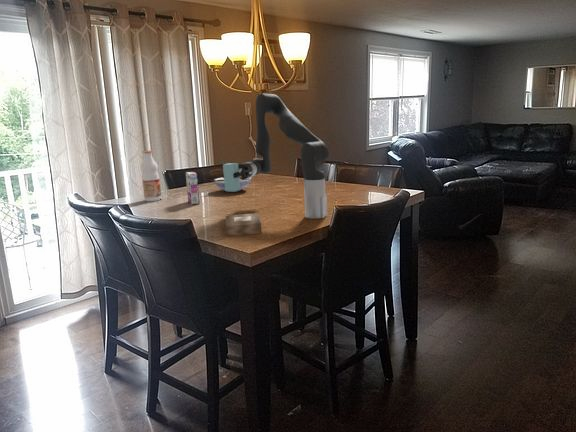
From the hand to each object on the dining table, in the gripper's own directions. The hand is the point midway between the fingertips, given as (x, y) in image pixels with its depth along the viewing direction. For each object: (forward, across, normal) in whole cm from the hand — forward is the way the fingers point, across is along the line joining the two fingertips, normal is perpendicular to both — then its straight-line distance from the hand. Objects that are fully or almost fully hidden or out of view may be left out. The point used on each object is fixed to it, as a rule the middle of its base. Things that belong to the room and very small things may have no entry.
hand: (228, 175), depth 198 cm
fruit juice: (-30, -68, +19) cm, 77 cm away
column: (-3, 0, +7) cm, 7 cm away
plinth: (+13, +12, +20) cm, 27 cm away
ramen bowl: (-63, -34, +19) cm, 74 cm away
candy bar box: (-28, -40, +19) cm, 52 cm away
